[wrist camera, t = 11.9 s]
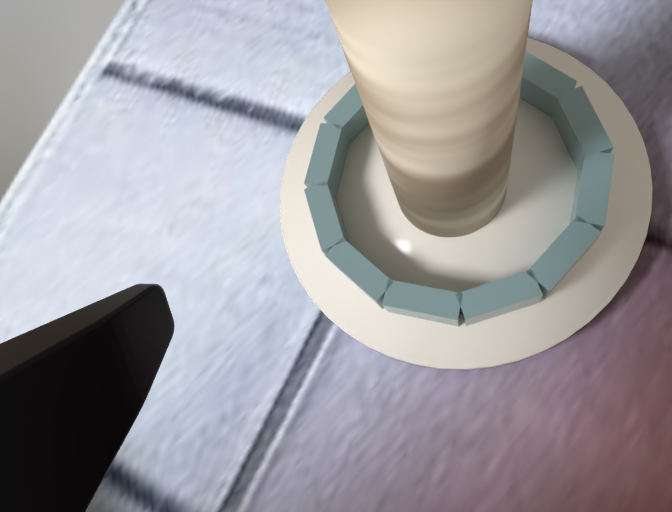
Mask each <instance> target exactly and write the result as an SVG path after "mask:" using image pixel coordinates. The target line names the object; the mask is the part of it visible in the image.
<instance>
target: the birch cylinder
mask: <svg viewBox="0 0 672 512" xmlns="http://www.w3.org/2000/svg"><path fill="white" fill-rule="evenodd" d="M325 1H326V4H327V6H328V9H329V12H330V15H331V18H332V20H333V23H334V26H335V29H336V31H337V34H338V37H339V40H340V43H341V45H342V48H343V51H344V54H345V57H346V59H347V62H348V65H349V68H350V70H351V73H352V76H353V79H354V82H355V84H356V87H357V90H358V93H359V95H360V98H361V101H362V104H363V107H364V109H365V112H366V115H367V118H368V120H369V123H370V126H371V129H372V132H373V134H374V137H375V140H376V143H377V146H378V148H379V151H380V154H381V157H382V159H383V162H384V165H385V168H386V171H387V173H388V176H389V179H390V182H391V184H392V187H393V190H394V193H395V196H396V198H397V201H398V204H399V206H400V209H401V211H402V212H403V214H404V216H405V217H406V218H407V219H408V221H409V222H410V223H412V224H413V225H414V226H415V227H417V228H418V229H419V230H421V231H423V232H425V233H428V234H431V235H434V236H438V237H460V236H464V235H468V234H471V233H473V232H476V231H477V230H479V229H481V228H483V227H484V226H485V225H487V224H488V223H489V222H490V221H491V220H492V219H493V218H494V217H495V216H496V215H497V213H498V212H499V210H500V209H501V207H502V205H503V202H504V200H505V196H506V191H507V184H508V176H509V169H510V162H511V154H512V147H513V140H514V132H515V125H516V118H517V110H518V103H519V96H520V88H521V81H522V74H523V66H524V59H525V52H526V44H527V37H528V30H529V22H530V15H531V8H532V0H325Z"/></svg>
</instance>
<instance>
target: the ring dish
mask: <svg viewBox="0 0 672 512" xmlns="http://www.w3.org/2000/svg"><path fill="white" fill-rule="evenodd" d="M652 187H653V186H652V178H651V169H650V162H649V159H648V155H647V151H646V148H645V144H644V141H643V138H642V136H641V134H640V132H639V130H638V127H637V125H636V123H635V121H634V119H633V117H632V116H631V114H630V113H629V111H628V109H627V108H626V106H625V105H624V103H623V102H622V100H621V99H620V98H619V97H618V95H617V94H616V93H615V92H614V91H613V90H612V89H611V87H610V86H609V85H608V84H607V83H606V82H605V81H604V80H603V79H602V78H600V77H599V76H598V75H597V74H596V73H595V72H593V71H592V70H591V69H590V68H589V67H587V66H586V65H584V64H583V63H581V62H580V61H578V60H577V59H575V58H574V57H572V56H571V55H569V54H567V53H565V52H563V51H561V50H559V49H557V48H555V47H553V46H551V45H548V44H545V43H542V42H540V41H537V40H534V39H531V38H528V37H527V44H526V52H525V59H524V66H523V74H522V81H521V88H520V96H519V103H518V110H517V118H516V125H515V132H514V140H513V147H512V154H511V162H510V169H509V176H508V184H507V191H506V196H505V200H504V202H503V205H502V207H501V209H500V210H499V212H498V213H497V215H496V216H495V217H494V218H493V219H492V220H491V221H490V222H489V223H488V224H487V225H485V226H484V227H483V228H481V229H479V230H477V231H476V232H473V233H471V234H468V235H464V236H460V237H438V236H434V235H431V234H428V233H425V232H423V231H421V230H419V229H418V228H417V227H415V226H414V225H413V224H412V223H410V222H409V221H408V219H407V218H406V217H405V216H404V214H403V212H402V211H401V209H400V206H399V204H398V201H397V198H396V196H395V193H394V190H393V187H392V184H391V182H390V179H389V176H388V173H387V171H386V168H385V165H384V162H383V159H382V157H381V154H380V151H379V148H378V146H377V143H376V140H375V137H374V134H373V132H372V129H371V126H370V123H369V120H368V118H367V115H366V112H365V109H364V107H363V104H362V101H361V98H360V95H359V93H358V90H357V87H356V84H355V82H354V79H353V76H352V73H351V71H350V72H349V73H347V74H346V75H345V76H343V77H342V78H341V79H340V80H339V81H338V82H337V83H336V84H335V85H334V86H333V87H332V88H330V89H329V90H328V91H327V92H326V93H325V95H324V96H323V97H322V98H321V99H320V101H319V102H318V103H317V104H316V105H315V107H314V108H313V109H312V111H311V112H310V114H309V115H308V117H307V118H306V120H305V121H304V123H303V124H302V126H301V128H300V130H299V132H298V134H297V136H296V138H295V140H294V142H293V144H292V147H291V150H290V153H289V155H288V158H287V161H286V164H285V169H284V174H283V178H282V183H281V195H280V217H281V227H282V233H283V238H284V243H285V247H286V250H287V253H288V256H289V259H290V262H291V264H292V266H293V268H294V270H295V272H296V274H297V276H298V278H299V280H300V283H301V284H302V286H303V287H304V289H305V290H306V292H307V293H308V294H309V296H310V297H311V299H312V300H313V302H314V303H315V304H316V305H317V306H318V307H319V308H320V309H321V310H322V312H323V313H324V314H325V315H326V316H327V317H328V318H329V319H330V320H331V321H333V322H334V323H335V324H336V325H337V326H339V327H340V328H341V329H342V330H343V331H345V332H346V333H347V334H349V335H350V336H352V337H353V338H355V339H356V340H358V341H360V342H361V343H363V344H364V345H366V346H368V347H369V348H371V349H373V350H375V351H377V352H380V353H382V354H384V355H386V356H388V357H391V358H393V359H396V360H399V361H403V362H406V363H409V364H413V365H416V366H422V367H428V368H434V369H440V370H476V369H486V368H494V367H498V366H502V365H506V364H511V363H515V362H519V361H521V360H524V359H526V358H529V357H532V356H534V355H537V354H540V353H542V352H544V351H546V350H548V349H549V348H551V347H553V346H555V345H557V344H559V343H561V342H562V341H564V340H566V339H567V338H568V337H570V336H571V335H573V334H574V333H575V332H577V331H578V330H579V329H581V328H582V327H583V326H585V325H586V324H587V323H588V322H590V321H591V320H592V319H593V318H594V317H595V316H596V315H597V314H598V313H599V312H600V311H601V310H602V309H603V308H604V307H605V306H606V305H607V304H608V303H609V302H610V301H611V300H612V298H613V297H614V296H615V294H616V293H617V292H618V291H619V289H620V288H621V287H622V285H623V284H624V283H625V281H626V280H627V278H628V276H629V274H630V272H631V271H632V269H633V267H634V265H635V263H636V261H637V260H638V257H639V255H640V252H641V249H642V247H643V244H644V241H645V238H646V236H647V231H648V226H649V221H650V216H651V211H652Z"/></svg>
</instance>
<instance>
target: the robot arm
mask: <svg viewBox="0 0 672 512" xmlns="http://www.w3.org/2000/svg"><path fill="white" fill-rule="evenodd" d="M173 333H174V320H173V317H172V314H171V311H170V308H169V305H168V301H167V298H166V295H165V292H164V290H163V288H162V287H161V286H159V285H158V284H136V285H134V286H132V287H129V288H127V289H125V290H122V291H120V292H118V293H115V294H113V295H111V296H109V297H106V298H104V299H102V300H99V301H97V302H95V303H93V304H90V305H88V306H86V307H83V308H81V309H79V310H76V311H74V312H72V313H70V314H67V315H65V316H63V317H60V318H58V319H56V320H54V321H51V322H49V323H47V324H44V325H42V326H40V327H38V328H35V329H33V330H31V331H28V332H26V333H24V334H21V335H19V336H17V337H15V338H12V339H10V340H8V341H5V342H3V343H1V344H0V512H85V511H86V509H87V507H88V505H89V504H90V502H91V500H92V498H93V496H94V494H95V493H96V491H97V489H98V487H99V485H100V484H101V482H102V480H103V478H104V476H105V474H106V473H107V471H108V469H109V467H110V465H111V463H112V462H113V460H114V458H115V456H116V454H117V452H118V451H119V449H120V447H121V445H122V443H123V442H124V440H125V438H126V436H127V434H128V432H129V431H130V429H131V427H132V425H133V423H134V421H135V420H136V418H137V416H138V414H139V412H140V410H141V408H142V406H143V404H144V402H145V400H146V398H147V395H148V393H149V391H150V389H151V386H152V384H153V381H154V379H155V377H156V374H157V372H158V370H159V367H160V365H161V362H162V360H163V358H164V355H165V353H166V351H167V348H168V346H169V343H170V341H171V339H172V336H173Z"/></svg>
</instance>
